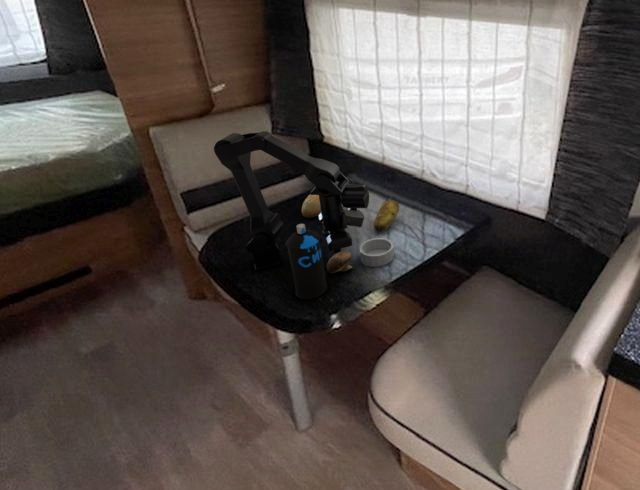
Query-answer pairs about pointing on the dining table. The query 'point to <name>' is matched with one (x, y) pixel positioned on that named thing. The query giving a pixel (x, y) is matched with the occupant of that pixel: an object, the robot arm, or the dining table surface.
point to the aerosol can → (306, 263)
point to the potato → (386, 215)
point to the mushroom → (339, 262)
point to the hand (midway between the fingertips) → (338, 253)
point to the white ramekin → (376, 252)
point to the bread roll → (311, 206)
